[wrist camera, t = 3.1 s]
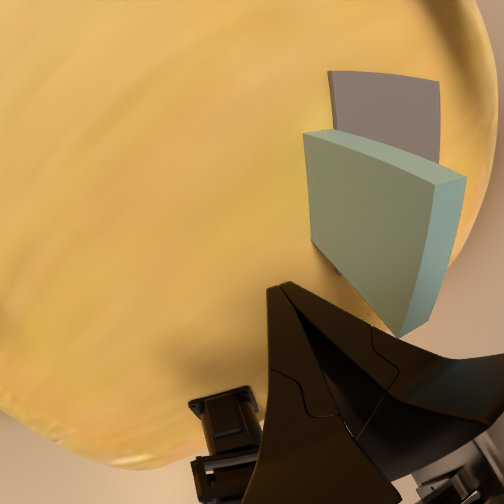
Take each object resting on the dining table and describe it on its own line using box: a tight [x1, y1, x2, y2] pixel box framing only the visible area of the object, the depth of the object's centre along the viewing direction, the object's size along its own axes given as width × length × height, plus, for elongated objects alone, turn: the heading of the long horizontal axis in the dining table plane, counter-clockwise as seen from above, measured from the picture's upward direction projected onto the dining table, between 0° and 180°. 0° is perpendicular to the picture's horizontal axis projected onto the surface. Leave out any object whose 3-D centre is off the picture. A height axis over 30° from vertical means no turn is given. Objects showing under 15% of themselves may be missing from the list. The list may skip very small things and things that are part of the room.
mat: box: [328, 71, 440, 276], centre depth 16 cm, size 14×10×1 cm
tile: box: [303, 129, 467, 339], centre depth 12 cm, size 7×2×9 cm, turn 9°
